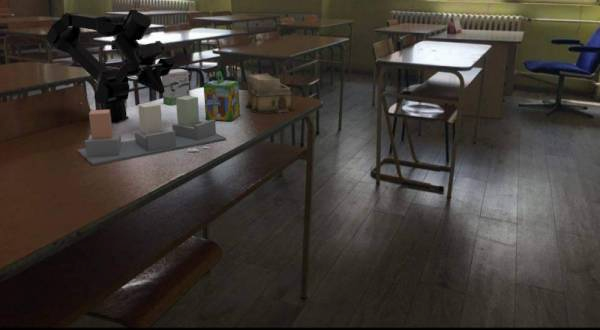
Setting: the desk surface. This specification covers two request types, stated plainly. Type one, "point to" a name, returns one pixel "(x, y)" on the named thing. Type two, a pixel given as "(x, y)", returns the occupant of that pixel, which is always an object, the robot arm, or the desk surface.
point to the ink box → (175, 85)
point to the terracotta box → (100, 124)
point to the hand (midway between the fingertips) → (163, 92)
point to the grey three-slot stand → (149, 143)
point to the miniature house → (267, 94)
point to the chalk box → (221, 99)
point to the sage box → (187, 110)
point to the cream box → (150, 118)
